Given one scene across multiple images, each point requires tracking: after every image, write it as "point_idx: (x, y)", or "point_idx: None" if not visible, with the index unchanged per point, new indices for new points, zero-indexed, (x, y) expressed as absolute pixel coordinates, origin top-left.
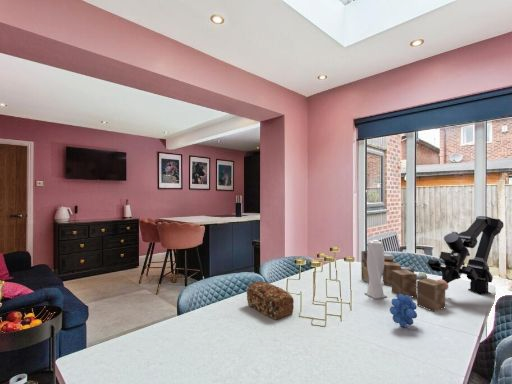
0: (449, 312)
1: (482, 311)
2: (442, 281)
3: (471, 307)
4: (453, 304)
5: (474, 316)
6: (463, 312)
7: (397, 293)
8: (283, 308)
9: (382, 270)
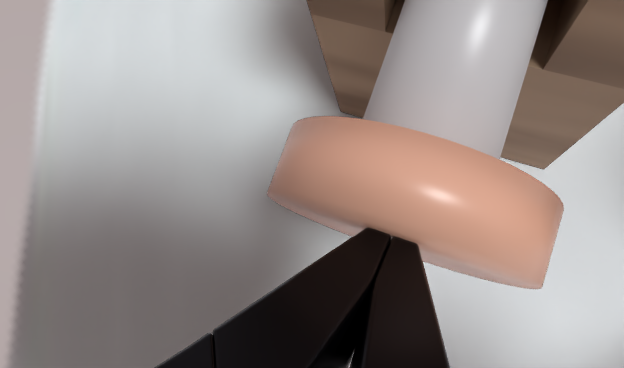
0: (284, 10)
1: (24, 294)
2: (383, 134)
3: (113, 350)
4: None
5: (92, 82)
6: (176, 114)
7: None
8: None
9: None
